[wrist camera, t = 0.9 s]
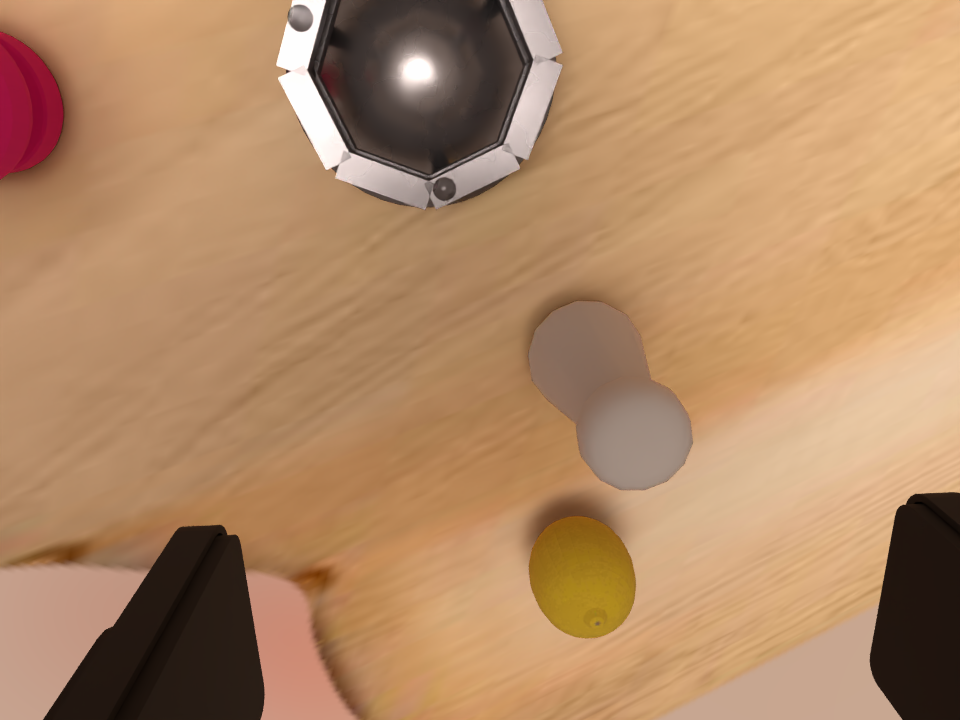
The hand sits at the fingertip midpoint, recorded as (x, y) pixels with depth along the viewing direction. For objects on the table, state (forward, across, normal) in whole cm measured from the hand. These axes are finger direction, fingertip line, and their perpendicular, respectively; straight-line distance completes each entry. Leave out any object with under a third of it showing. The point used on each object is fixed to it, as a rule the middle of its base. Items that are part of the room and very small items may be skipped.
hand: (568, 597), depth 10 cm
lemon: (+28, -4, +17) cm, 34 cm away
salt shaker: (+28, -5, +6) cm, 29 cm away
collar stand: (+28, +3, -8) cm, 29 cm away
